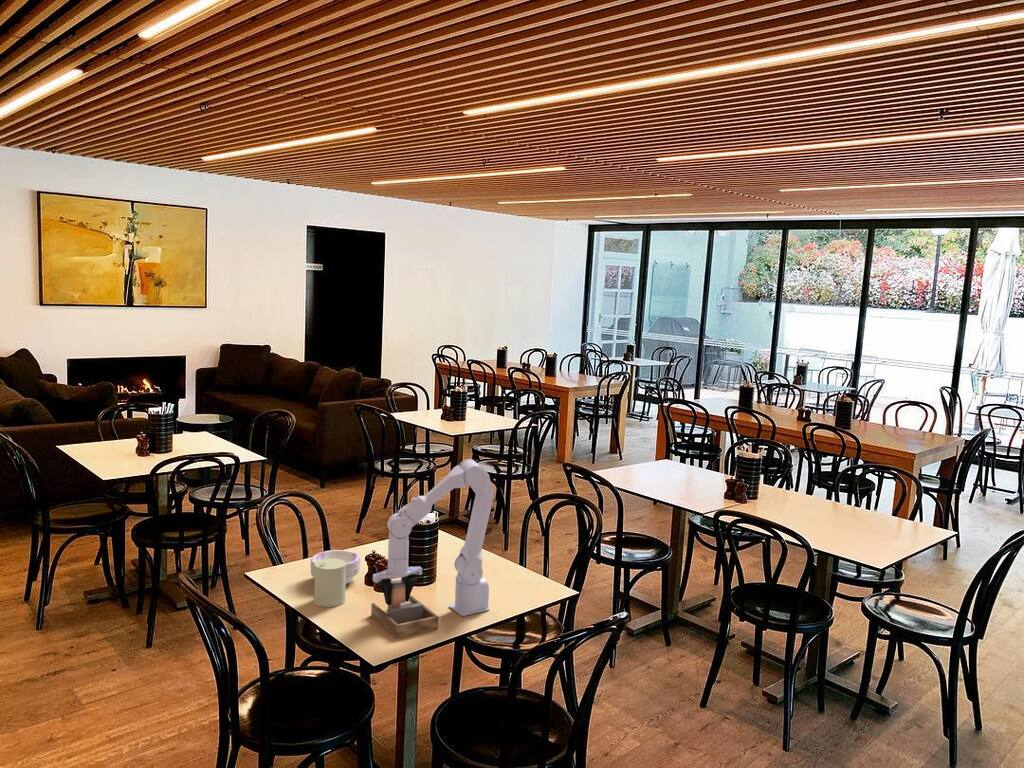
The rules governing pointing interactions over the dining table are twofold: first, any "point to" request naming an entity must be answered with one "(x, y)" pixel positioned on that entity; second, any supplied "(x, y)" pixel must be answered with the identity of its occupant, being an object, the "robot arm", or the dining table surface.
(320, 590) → the can
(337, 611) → the dining table surface
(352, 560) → the paper bowls
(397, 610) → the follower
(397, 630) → the brown wooden tray
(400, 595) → the jar
